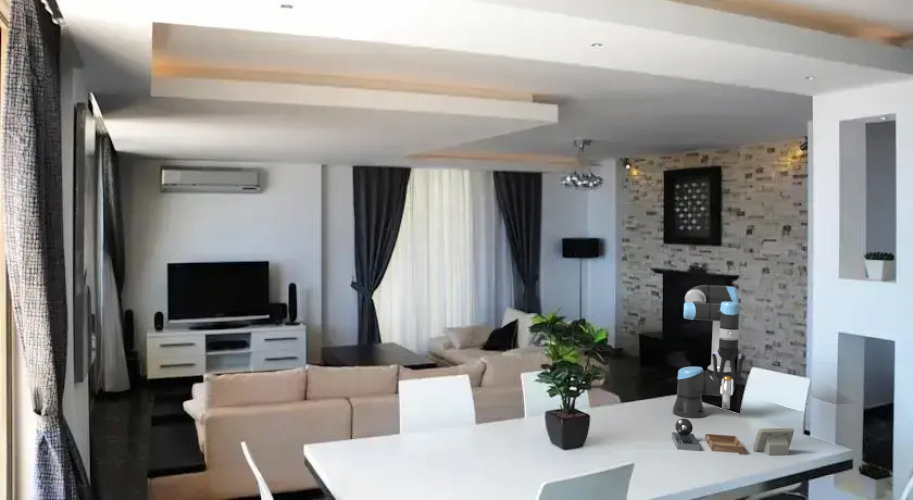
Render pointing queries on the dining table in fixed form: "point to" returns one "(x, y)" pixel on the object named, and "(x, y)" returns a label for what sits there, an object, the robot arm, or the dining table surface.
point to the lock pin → (726, 392)
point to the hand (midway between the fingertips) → (726, 393)
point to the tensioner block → (685, 436)
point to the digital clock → (773, 440)
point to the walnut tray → (724, 443)
